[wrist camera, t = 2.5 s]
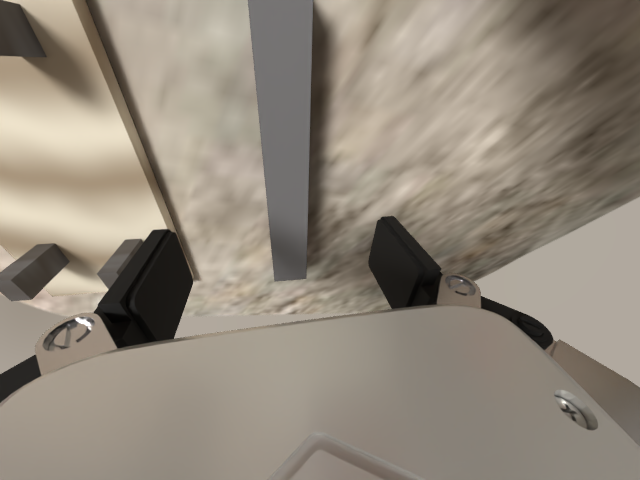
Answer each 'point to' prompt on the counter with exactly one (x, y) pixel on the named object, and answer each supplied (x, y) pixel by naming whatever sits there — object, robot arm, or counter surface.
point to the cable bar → (284, 123)
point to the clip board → (67, 156)
